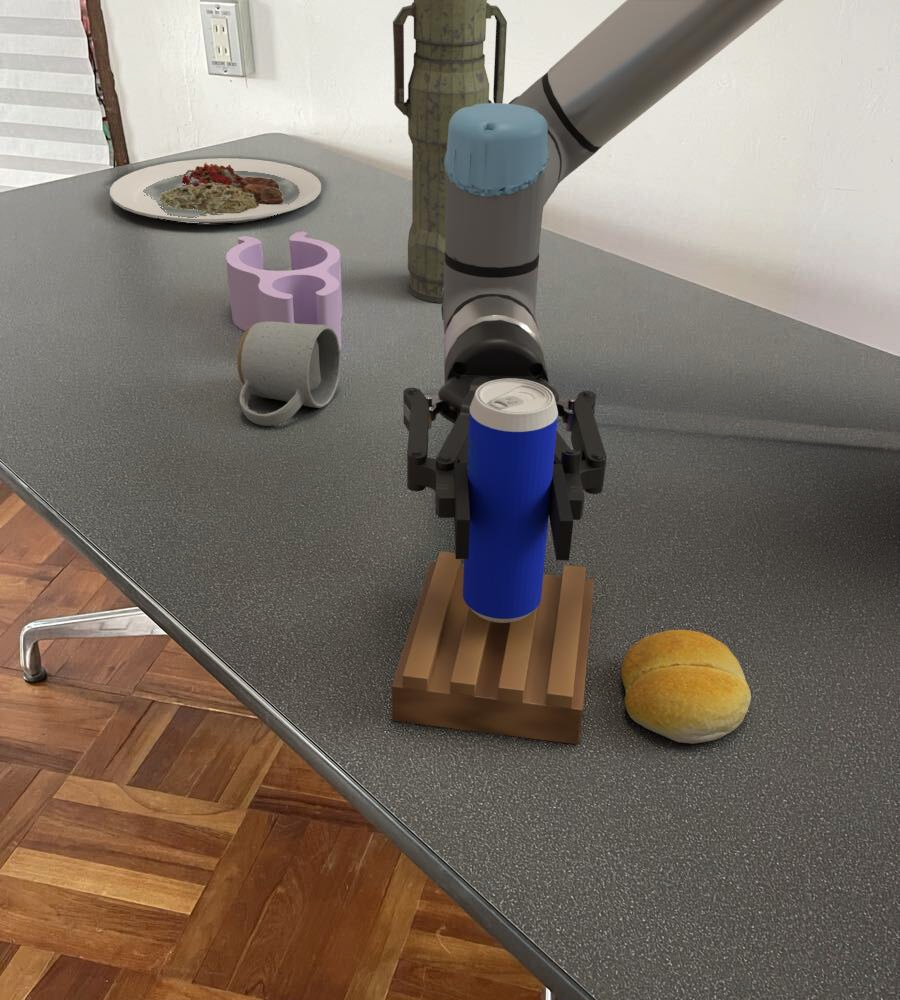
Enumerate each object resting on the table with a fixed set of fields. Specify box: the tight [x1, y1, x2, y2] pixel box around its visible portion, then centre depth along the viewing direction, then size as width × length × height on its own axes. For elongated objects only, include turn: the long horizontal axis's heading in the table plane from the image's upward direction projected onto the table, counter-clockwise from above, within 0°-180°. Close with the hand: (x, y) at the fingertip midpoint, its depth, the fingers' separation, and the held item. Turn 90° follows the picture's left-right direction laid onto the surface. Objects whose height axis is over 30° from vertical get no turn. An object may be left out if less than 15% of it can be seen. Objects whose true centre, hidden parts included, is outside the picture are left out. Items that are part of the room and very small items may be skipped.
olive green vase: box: [392, 0, 508, 304], centre depth 119 cm, size 9×12×35 cm
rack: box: [391, 550, 595, 745], centre depth 73 cm, size 12×14×4 cm
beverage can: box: [463, 378, 559, 623], centre depth 66 cm, size 5×5×15 cm
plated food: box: [109, 157, 322, 224], centre depth 155 cm, size 30×30×3 cm
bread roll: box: [620, 629, 752, 745], centre depth 70 cm, size 8×9×4 cm
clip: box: [225, 231, 344, 352], centre depth 118 cm, size 20×12×7 cm, turn 17°
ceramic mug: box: [236, 322, 342, 427], centre depth 102 cm, size 11×8×8 cm
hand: (513, 539), depth 62 cm, fingers closed on beverage can, 5 cm apart
